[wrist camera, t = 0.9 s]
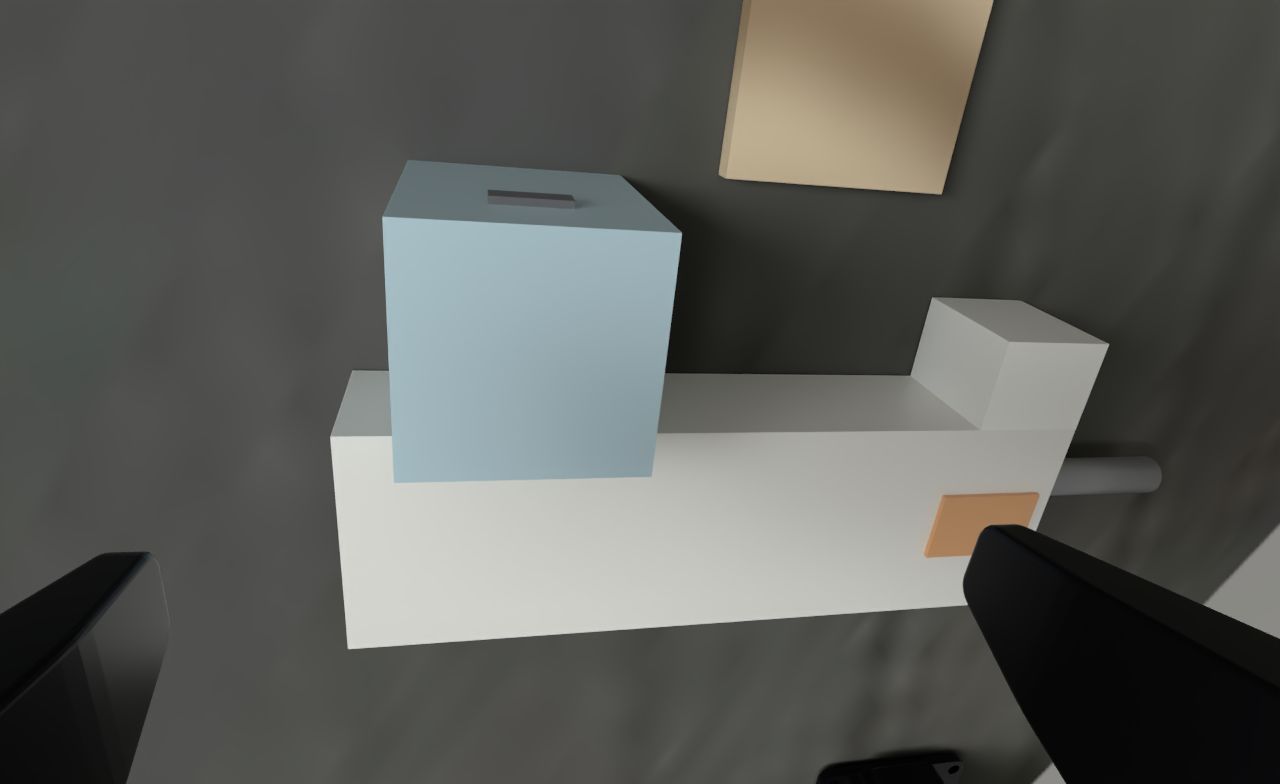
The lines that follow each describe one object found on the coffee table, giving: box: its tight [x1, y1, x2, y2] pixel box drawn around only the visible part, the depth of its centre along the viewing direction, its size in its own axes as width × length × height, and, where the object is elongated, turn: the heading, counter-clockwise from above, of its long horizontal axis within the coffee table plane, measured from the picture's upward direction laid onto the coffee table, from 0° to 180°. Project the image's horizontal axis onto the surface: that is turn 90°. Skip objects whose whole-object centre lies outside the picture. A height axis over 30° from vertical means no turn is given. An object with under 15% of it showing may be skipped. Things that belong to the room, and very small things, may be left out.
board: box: [719, 0, 993, 194], centre depth 18 cm, size 6×6×1 cm
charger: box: [382, 160, 682, 483], centre depth 17 cm, size 7×5×6 cm
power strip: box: [330, 297, 1162, 649], centre depth 21 cm, size 8×25×4 cm, turn 84°
